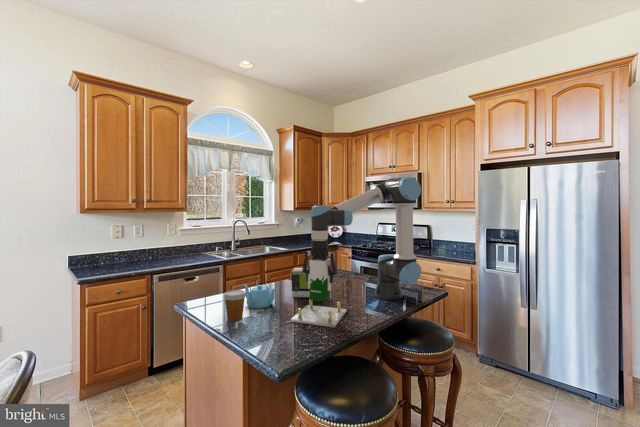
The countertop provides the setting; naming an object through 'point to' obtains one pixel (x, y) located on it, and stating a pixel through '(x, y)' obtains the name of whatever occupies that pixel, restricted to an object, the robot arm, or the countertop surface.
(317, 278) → the milk carton
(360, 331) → the countertop surface
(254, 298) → the teapot
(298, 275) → the tea box
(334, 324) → the white flat square slab
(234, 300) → the disposable coffee cup
